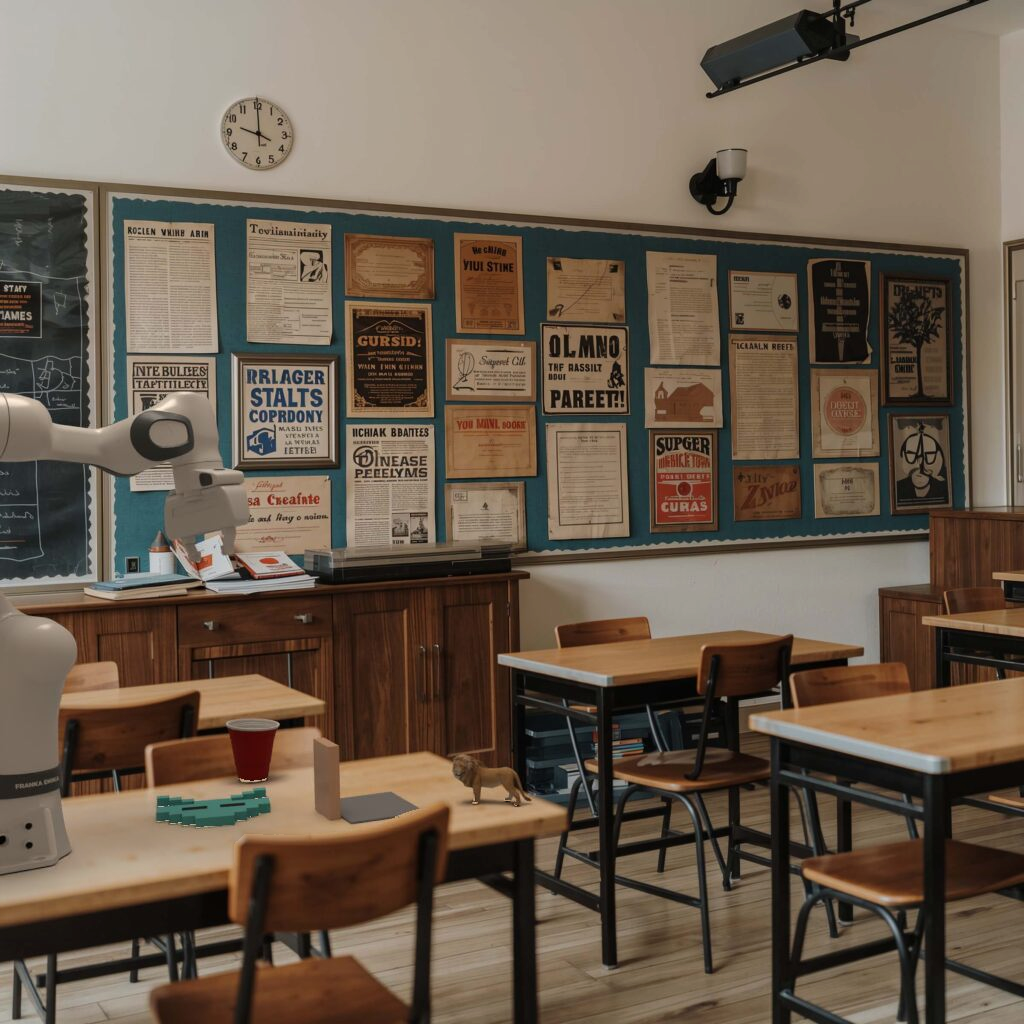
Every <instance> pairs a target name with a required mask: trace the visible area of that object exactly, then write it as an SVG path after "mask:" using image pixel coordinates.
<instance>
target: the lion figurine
mask: <svg viewBox="0 0 1024 1024" xmlns="http://www.w3.org/2000/svg"><path fill="white" fill-rule="evenodd" d="M452 759H453V761H452V770H451V771H452V773H453V777H454V778H455V779H456V780H458V781H459V782H461V783H463V786H464V787H466V788H470V789H471V788H472V792H473V796H474V798H475V801H473V800H472V801H471V803H472V802H479V801H481V793H482V788H487V789H494V788H497V787H500V786H501V785H502V787H503V789H505V790H506V792H507V793H508V794H509V795H508V797H505V798H504V799H505V800H511V801H512V800H513V798H514V799H515V801H514V802H513V804H515V805H519V806H521V803H522V799H521V796H522V798H523V799H524V800H525V801H527V802H532V800H533V799H532V798H530V797H528V796H526V795H525V793H524V789H523V787H522V784H521V780H520V777H519V775H518V773H517V772H516V771H515V770H514V769H512V768H510V767H508V766H503V767H497V768H491V767H488V766H487V765H485V764H484V762H483V761H481V760H478V759H476V758H474V756H470V755H468V754H463V753H462V754H458V755H456V756H455V757H453V758H452ZM515 782H516V784H517V787H518V790H519V791H517V789H516V787H515ZM519 792H520V793H519ZM520 794H521V795H520ZM479 803H480V802H479Z"/></svg>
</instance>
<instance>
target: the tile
mask: <svg viewBox="0 0 1024 1024" xmlns="http://www.w3.org/2000/svg"><path fill="white" fill-rule="evenodd" d="M312 744H313V779H314V780H313V785H314V788H313V789H314V810H315V811H316V812H317V813H320V815H322V816H323V817H325V818H326V819H327V820H329V821H336V820H337V821H338V820H341V819H342V817H341V811H340V798H341V780H340V778H341V777H340V775H341V773H340V772H341V771H340V745H338V744H336V743H335V742H333V741H331V740H329V739H328V738H325V737H317V738H313V743H312Z"/></svg>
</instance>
